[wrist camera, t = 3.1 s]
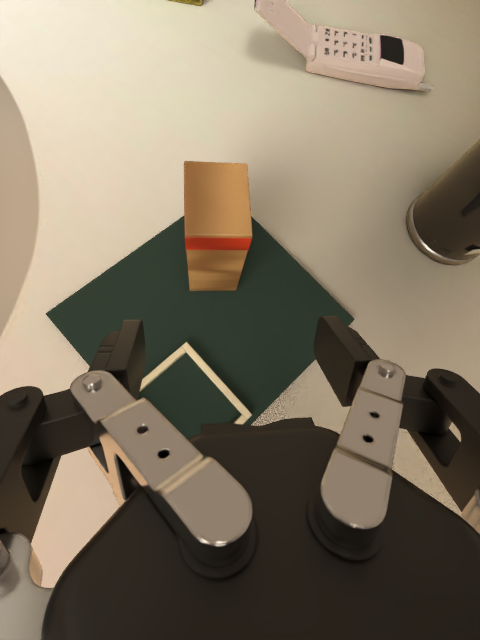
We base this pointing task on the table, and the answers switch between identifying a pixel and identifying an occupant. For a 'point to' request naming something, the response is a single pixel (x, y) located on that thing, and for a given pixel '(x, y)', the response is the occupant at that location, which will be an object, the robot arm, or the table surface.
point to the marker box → (216, 224)
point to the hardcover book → (190, 1)
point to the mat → (205, 328)
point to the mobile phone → (348, 50)
